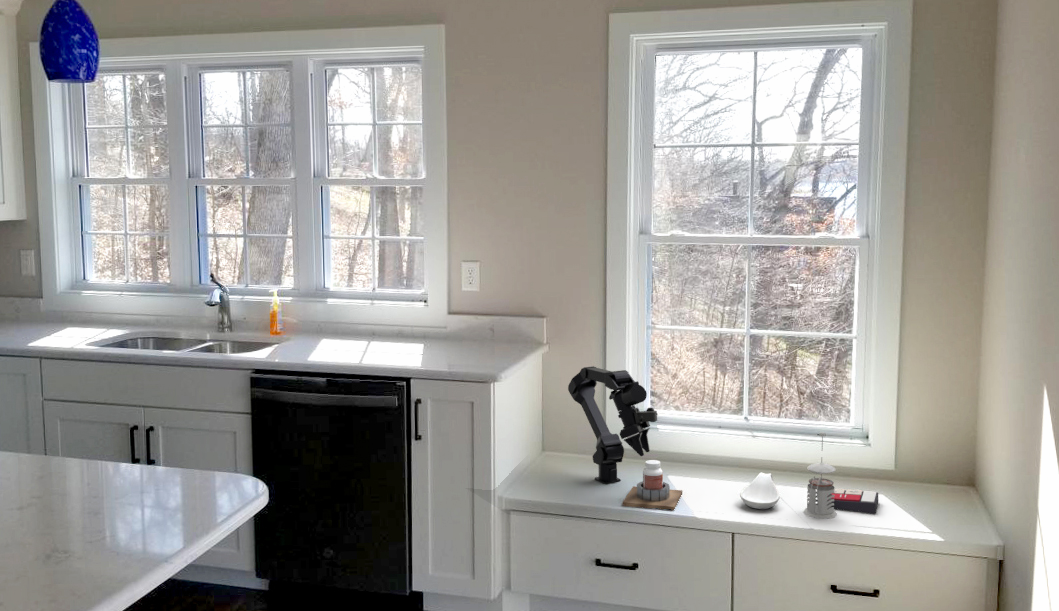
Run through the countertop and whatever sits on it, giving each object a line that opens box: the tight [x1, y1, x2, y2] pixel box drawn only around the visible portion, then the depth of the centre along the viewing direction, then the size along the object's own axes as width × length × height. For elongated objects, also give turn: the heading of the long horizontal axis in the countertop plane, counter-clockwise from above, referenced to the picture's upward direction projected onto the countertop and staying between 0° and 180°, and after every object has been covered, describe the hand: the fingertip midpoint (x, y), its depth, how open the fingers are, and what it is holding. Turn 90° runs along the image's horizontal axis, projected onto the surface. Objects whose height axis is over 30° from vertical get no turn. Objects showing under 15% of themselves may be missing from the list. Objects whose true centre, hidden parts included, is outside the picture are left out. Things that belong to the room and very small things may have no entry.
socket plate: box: [622, 485, 683, 511], centre depth 307 cm, size 16×16×1 cm
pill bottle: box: [642, 459, 664, 489], centre depth 306 cm, size 6×6×11 cm
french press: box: [803, 431, 838, 519], centre depth 291 cm, size 10×12×25 cm
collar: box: [636, 480, 671, 502], centre depth 306 cm, size 10×10×4 cm
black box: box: [831, 487, 879, 515], centre depth 299 cm, size 11×4×15 cm
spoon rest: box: [739, 472, 780, 510], centre depth 305 cm, size 24×12×7 cm, turn 160°
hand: (645, 453), depth 312 cm, fingers open, 9 cm apart
